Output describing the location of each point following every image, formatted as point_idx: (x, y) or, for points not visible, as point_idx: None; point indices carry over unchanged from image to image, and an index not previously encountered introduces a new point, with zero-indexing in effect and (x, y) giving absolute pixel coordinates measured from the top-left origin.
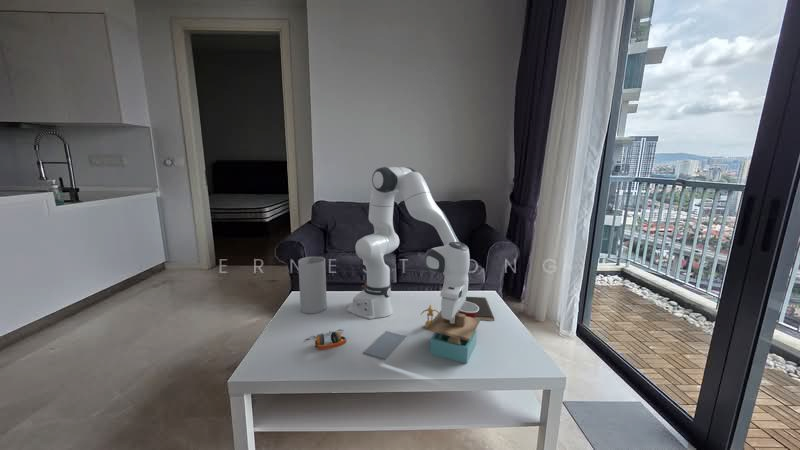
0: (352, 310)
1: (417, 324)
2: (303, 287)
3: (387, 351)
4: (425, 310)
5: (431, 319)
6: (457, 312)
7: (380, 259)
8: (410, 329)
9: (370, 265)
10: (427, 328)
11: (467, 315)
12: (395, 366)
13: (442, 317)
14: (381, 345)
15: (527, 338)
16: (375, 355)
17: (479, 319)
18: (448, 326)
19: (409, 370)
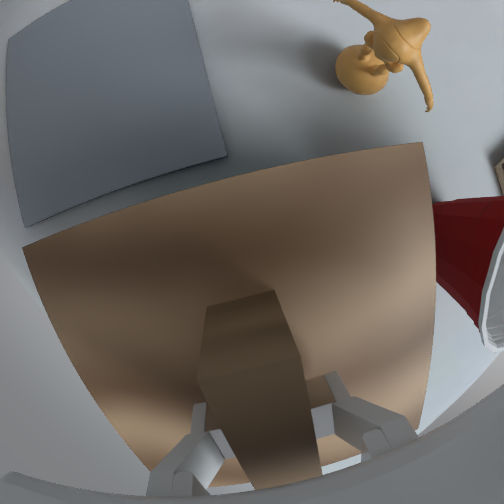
0: None
1: (345, 14)
2: None
3: (41, 78)
4: (359, 8)
5: (375, 70)
6: (348, 438)
7: None
8: (279, 8)
9: None
10: (28, 256)
11: (471, 312)
12: (5, 173)
13: (2, 477)
14: (64, 29)
15: (456, 399)
16: (6, 77)
17: (415, 429)
18: (179, 380)
19: (18, 228)
